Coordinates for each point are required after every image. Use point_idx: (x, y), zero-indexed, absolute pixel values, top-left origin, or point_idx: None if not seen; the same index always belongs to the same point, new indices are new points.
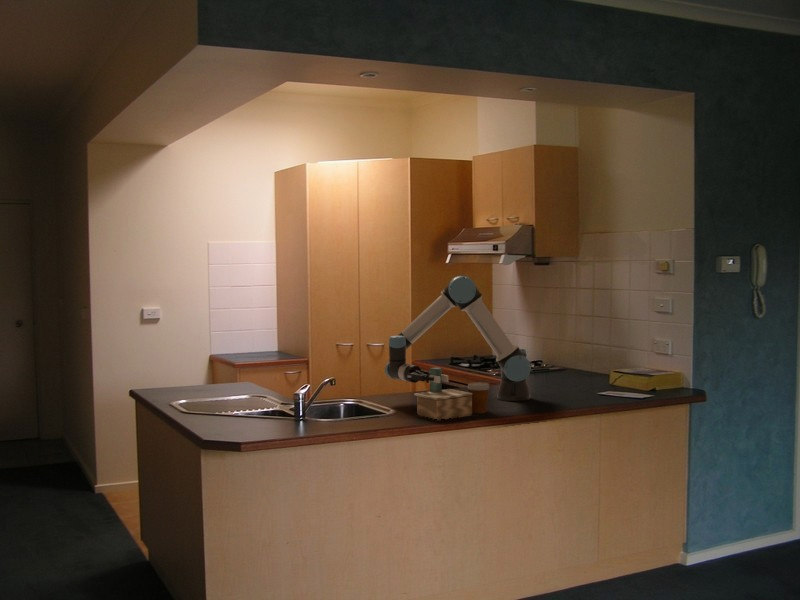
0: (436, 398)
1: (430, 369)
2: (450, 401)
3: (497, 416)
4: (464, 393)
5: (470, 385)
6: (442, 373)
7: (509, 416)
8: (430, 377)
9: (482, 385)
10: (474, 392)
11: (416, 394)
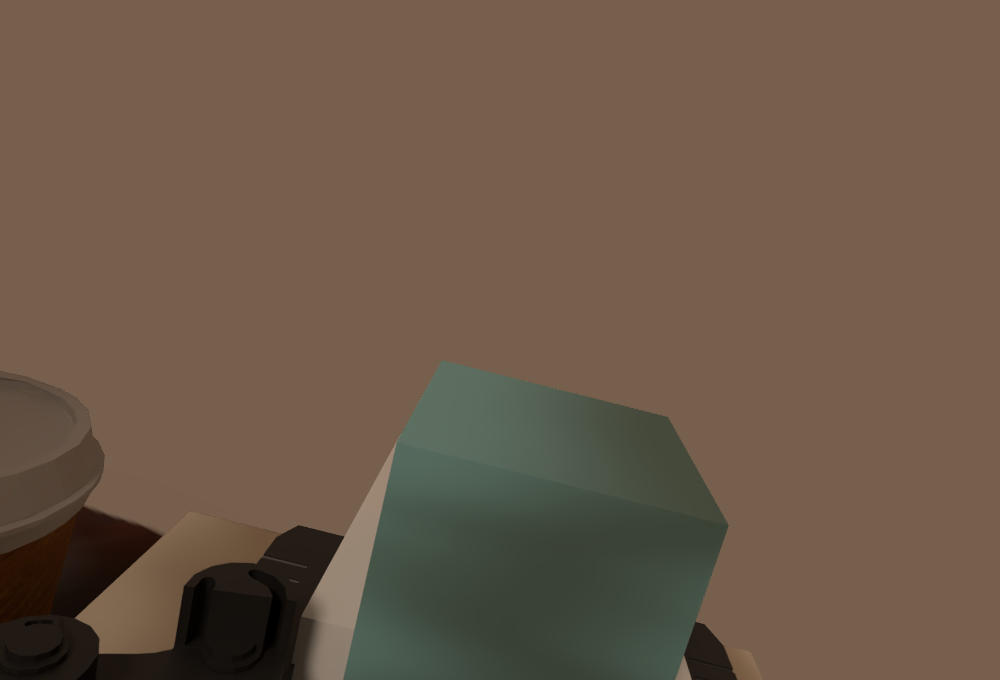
0: (741, 654)
1: (701, 544)
2: None
3: (126, 569)
4: (252, 557)
5: (59, 466)
6: (17, 620)
7: (88, 520)
8: (730, 663)
9: (55, 388)
10: (74, 520)
11: None
